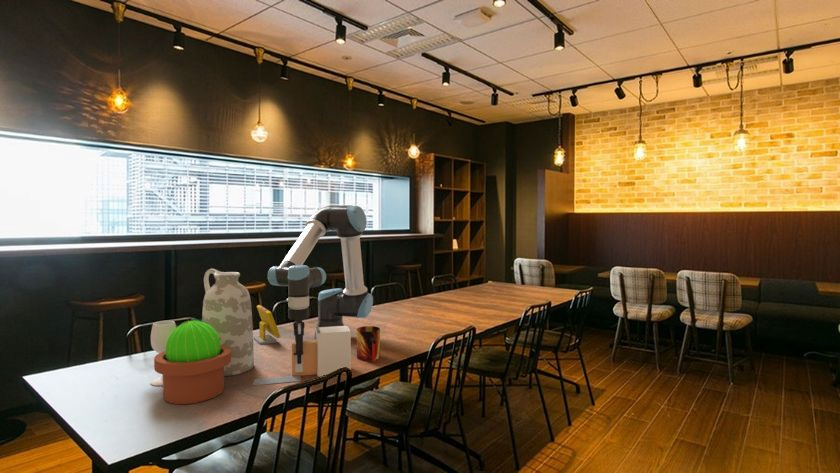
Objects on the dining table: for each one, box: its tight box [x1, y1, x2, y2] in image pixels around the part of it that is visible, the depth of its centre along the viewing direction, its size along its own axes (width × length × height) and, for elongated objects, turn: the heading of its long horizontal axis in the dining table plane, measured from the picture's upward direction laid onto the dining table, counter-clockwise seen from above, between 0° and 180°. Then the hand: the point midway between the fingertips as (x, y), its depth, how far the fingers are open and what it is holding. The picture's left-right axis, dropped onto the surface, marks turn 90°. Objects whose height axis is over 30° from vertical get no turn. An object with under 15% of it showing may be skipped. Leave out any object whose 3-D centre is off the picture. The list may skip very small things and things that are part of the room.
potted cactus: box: [153, 318, 231, 405], centre depth 147 cm, size 22×22×25 cm
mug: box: [356, 325, 381, 363], centre depth 186 cm, size 10×14×12 cm
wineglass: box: [150, 320, 177, 387], centre depth 158 cm, size 9×9×21 cm
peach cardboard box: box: [291, 339, 317, 377], centre depth 168 cm, size 3×14×12 cm, turn 107°
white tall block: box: [315, 325, 352, 378], centre depth 170 cm, size 9×12×17 cm
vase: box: [201, 268, 255, 377], centre depth 172 cm, size 20×19×38 cm
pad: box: [253, 375, 302, 387], centre depth 160 cm, size 6×16×1 cm, turn 107°
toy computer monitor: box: [253, 304, 281, 345], centre depth 211 cm, size 20×8×16 cm, turn 34°
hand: (298, 370), depth 167 cm, fingers closed on peach cardboard box, 3 cm apart
